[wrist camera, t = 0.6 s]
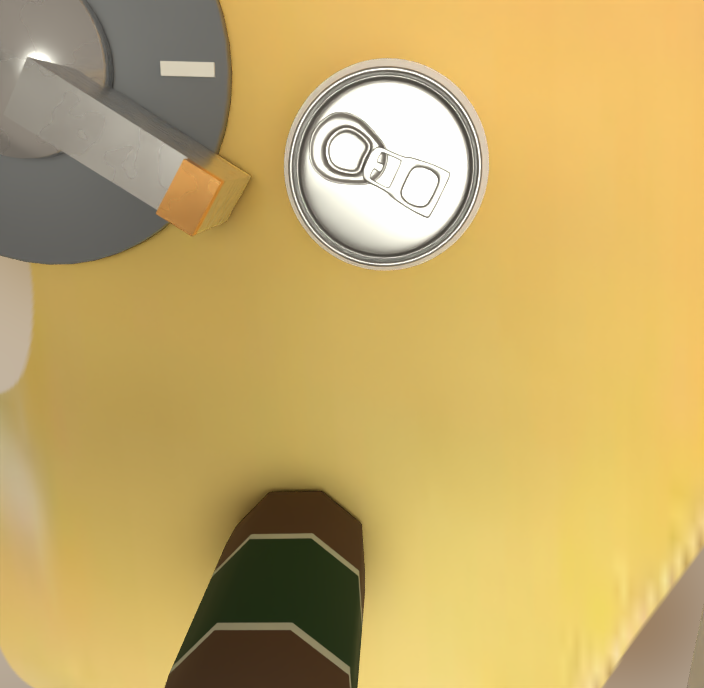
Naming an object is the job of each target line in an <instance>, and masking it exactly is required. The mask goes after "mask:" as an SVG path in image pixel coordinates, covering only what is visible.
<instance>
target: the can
mask: <svg viewBox="0 0 704 688" xmlns="http://www.w3.org/2000/svg"><path fill="white" fill-rule="evenodd" d="M488 173H489V153H488V145H487V140H486V136H485V132H484V129H483V126H482V123H481V121H480V119H479V117H478V115H477V112H476V111H475V109H474V107H473V106H472V104H471V103H470V101H469V100H468V98H467V97H466V96H465V95H464V93H463V92H462V91H461V90H460V89H459V88H458V87H457V86H456V85H455V84H454V83H453V82H451V81H450V80H449V79H448V78H446V77H445V76H443V75H442V74H440V73H439V72H437V71H435V70H433V69H431V68H429V67H427V66H425V65H422V64H419V63H416V62H413V61H408V60H403V59H393V58H383V59H373V60H367V61H363V62H359V63H356V64H354V65H351V66H348V67H346V68H344V69H342V70H340V71H338V72H337V73H335V74H333V75H332V76H330V77H329V78H328V79H326V80H325V81H324V82H323V83H321V84H320V85H319V86H318V87H317V88H316V89H315V90H314V91H313V92H312V93H311V94H310V96H309V97H308V98H307V99H306V101H305V102H304V103H303V105H302V106H301V108H300V110H299V111H298V113H297V115H296V117H295V119H294V121H293V124H292V126H291V129H290V132H289V135H288V139H287V143H286V148H285V156H284V176H285V183H286V189H287V193H288V197H289V200H290V203H291V205H292V208H293V210H294V212H295V214H296V216H297V218H298V220H299V222H300V223H301V225H302V226H303V228H304V229H305V230H306V232H307V233H308V234H309V235H310V237H311V238H312V239H313V240H314V241H315V242H316V243H317V244H318V245H319V246H321V247H322V248H323V249H324V250H326V251H327V252H328V253H330V254H331V255H333V256H335V257H336V258H338V259H340V260H342V261H344V262H346V263H349V264H351V265H354V266H358V267H361V268H366V269H372V270H399V269H405V268H409V267H413V266H416V265H419V264H422V263H424V262H426V261H429V260H431V259H432V258H434V257H436V256H438V255H439V254H441V253H442V252H444V251H445V250H446V249H448V248H449V247H450V246H451V245H453V244H454V243H455V242H456V241H457V240H458V239H459V238H460V237H461V236H462V234H463V233H464V232H465V231H466V230H467V228H468V227H469V225H470V224H471V222H472V221H473V219H474V217H475V216H476V214H477V212H478V210H479V208H480V205H481V203H482V200H483V197H484V194H485V190H486V186H487V181H488Z"/></svg>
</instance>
